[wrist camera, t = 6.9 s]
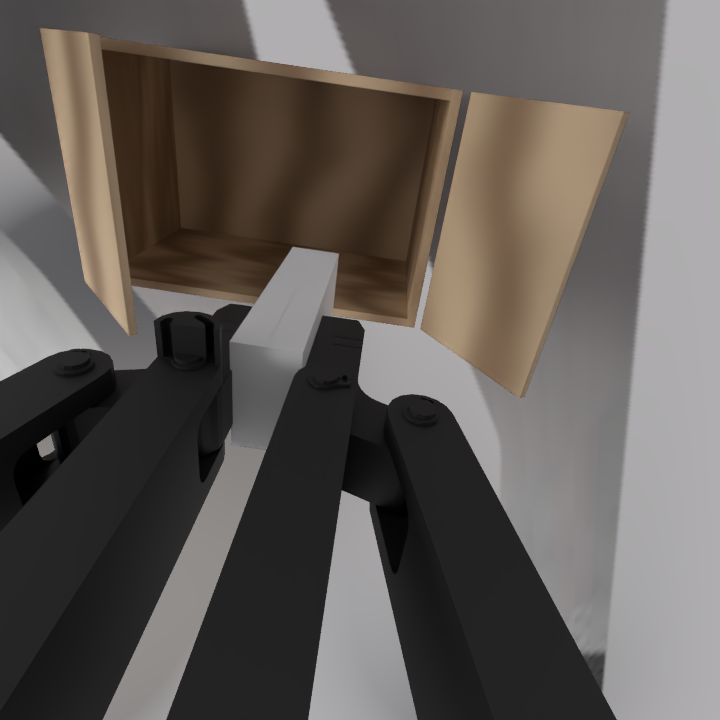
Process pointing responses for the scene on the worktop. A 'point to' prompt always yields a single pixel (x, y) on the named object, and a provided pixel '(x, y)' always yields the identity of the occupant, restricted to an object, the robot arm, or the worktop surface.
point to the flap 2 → (515, 228)
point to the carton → (275, 174)
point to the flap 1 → (90, 166)
